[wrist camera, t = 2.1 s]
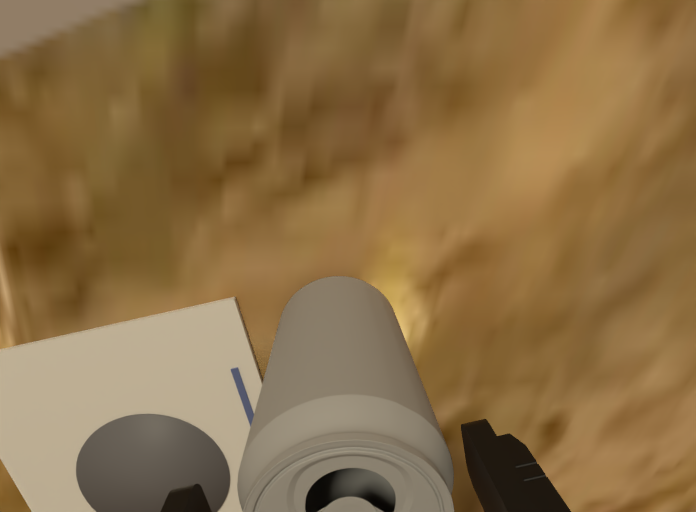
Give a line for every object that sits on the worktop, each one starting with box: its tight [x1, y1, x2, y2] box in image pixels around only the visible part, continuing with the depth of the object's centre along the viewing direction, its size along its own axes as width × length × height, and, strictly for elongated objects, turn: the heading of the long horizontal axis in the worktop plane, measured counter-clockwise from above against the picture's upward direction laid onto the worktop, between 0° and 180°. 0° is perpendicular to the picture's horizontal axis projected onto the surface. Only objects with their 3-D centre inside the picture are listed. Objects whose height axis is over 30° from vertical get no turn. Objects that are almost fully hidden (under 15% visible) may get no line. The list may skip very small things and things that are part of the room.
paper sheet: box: [0, 297, 263, 512], centre depth 23 cm, size 16×20×1 cm
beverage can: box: [237, 276, 454, 512], centre depth 16 cm, size 6×6×12 cm
